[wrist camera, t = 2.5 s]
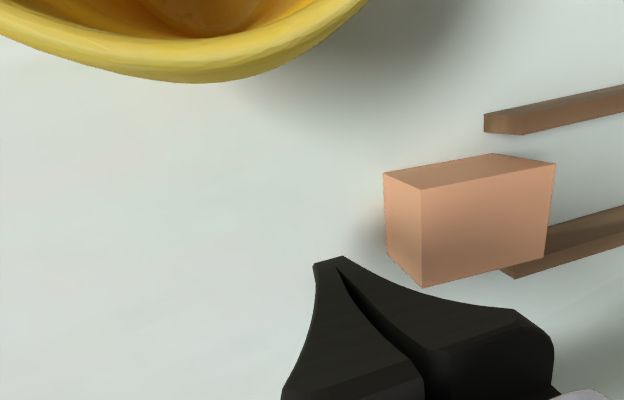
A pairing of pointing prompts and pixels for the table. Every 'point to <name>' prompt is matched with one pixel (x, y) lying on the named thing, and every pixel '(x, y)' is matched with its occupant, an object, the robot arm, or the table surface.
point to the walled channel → (583, 231)
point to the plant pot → (176, 34)
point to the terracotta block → (466, 216)
